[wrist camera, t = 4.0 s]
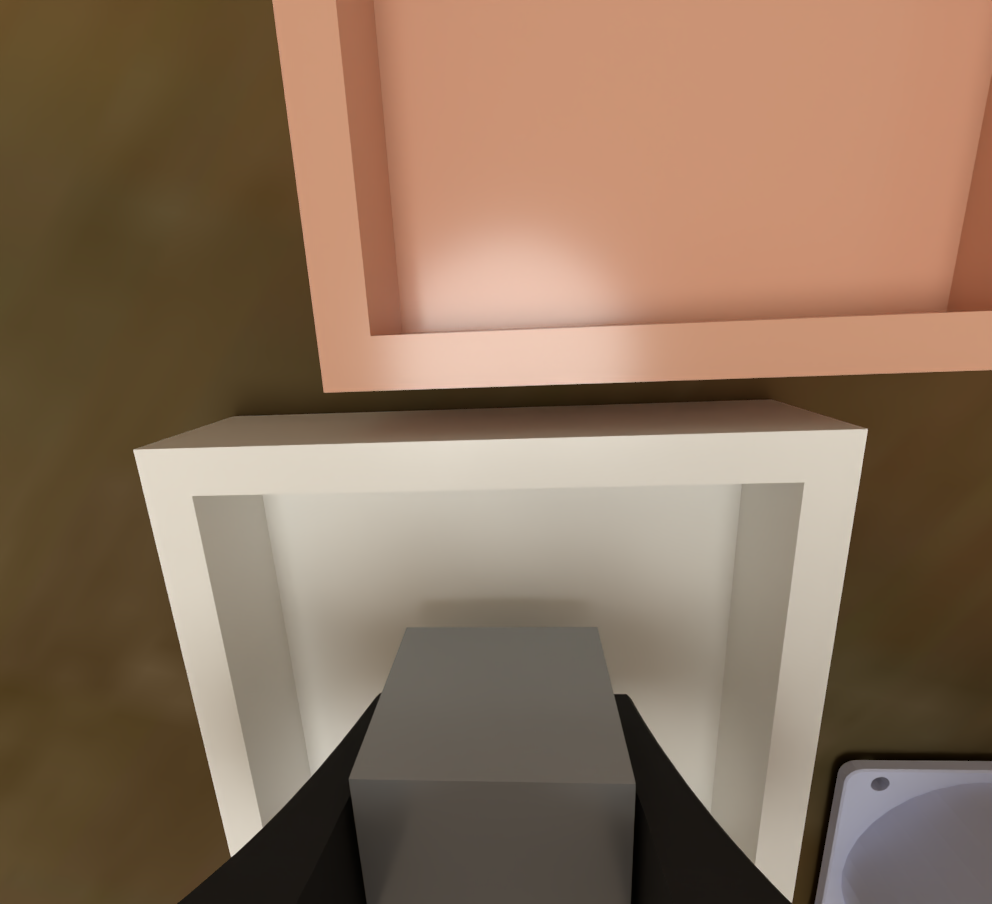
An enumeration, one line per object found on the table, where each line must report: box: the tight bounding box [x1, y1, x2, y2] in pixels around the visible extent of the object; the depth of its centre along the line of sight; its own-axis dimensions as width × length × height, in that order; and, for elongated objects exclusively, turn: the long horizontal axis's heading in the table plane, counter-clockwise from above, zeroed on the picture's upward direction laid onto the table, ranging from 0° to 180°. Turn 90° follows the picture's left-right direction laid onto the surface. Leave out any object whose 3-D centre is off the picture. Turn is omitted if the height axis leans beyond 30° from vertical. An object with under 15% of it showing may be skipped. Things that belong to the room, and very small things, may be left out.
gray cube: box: [349, 627, 636, 904], centre depth 10 cm, size 4×4×4 cm
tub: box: [134, 399, 868, 903], centre depth 13 cm, size 14×14×4 cm
